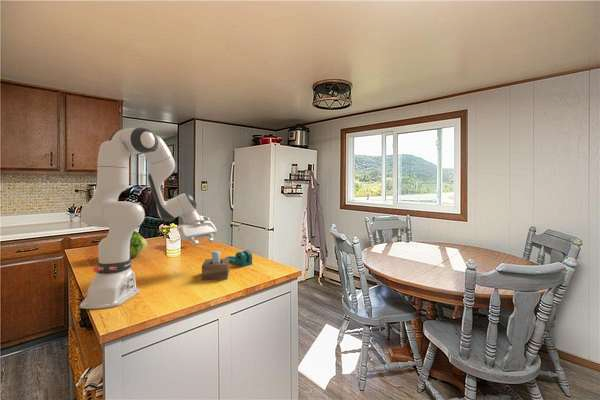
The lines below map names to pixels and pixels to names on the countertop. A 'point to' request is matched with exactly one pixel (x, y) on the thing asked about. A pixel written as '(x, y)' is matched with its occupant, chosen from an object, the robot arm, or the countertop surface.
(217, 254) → the blue dowel
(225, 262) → the brown toaster
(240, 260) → the teal elongated piece
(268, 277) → the countertop surface
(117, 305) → the robot arm
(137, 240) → the lettuce
